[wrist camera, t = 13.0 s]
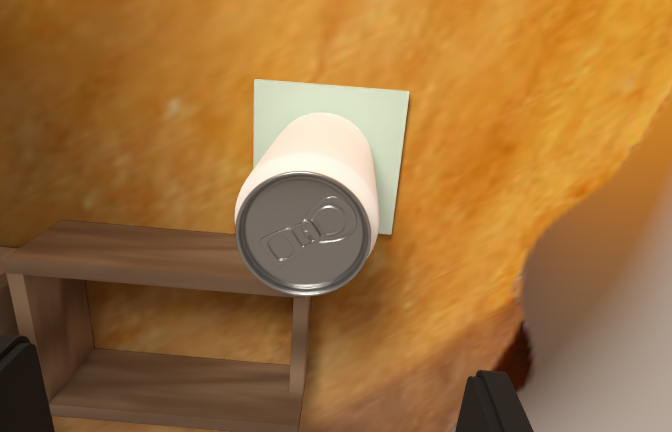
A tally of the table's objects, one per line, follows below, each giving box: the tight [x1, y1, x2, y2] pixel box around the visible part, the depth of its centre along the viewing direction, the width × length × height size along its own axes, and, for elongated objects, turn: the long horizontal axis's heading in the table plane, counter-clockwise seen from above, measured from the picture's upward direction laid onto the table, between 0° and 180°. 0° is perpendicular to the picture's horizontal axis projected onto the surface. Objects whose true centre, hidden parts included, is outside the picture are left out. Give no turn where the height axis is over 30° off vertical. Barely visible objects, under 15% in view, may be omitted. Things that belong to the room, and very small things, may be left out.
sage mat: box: [253, 79, 410, 235], centre depth 31 cm, size 10×10×1 cm
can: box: [235, 113, 379, 296], centre depth 25 cm, size 6×6×12 cm
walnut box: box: [3, 220, 311, 432], centre depth 33 cm, size 12×18×6 cm, turn 86°
